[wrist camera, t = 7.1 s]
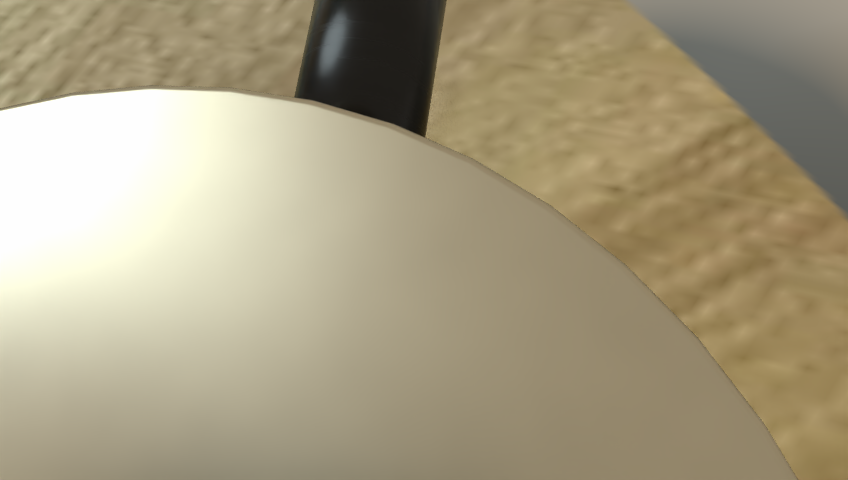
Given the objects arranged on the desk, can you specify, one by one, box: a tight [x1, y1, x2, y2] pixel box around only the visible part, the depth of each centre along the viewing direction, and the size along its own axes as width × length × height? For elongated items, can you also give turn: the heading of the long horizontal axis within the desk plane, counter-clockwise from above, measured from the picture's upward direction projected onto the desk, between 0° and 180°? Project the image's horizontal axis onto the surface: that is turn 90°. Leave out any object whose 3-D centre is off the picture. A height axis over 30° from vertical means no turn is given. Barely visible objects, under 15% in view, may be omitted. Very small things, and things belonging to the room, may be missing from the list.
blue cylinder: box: [0, 0, 798, 480], centre depth 9 cm, size 10×6×13 cm, turn 172°
